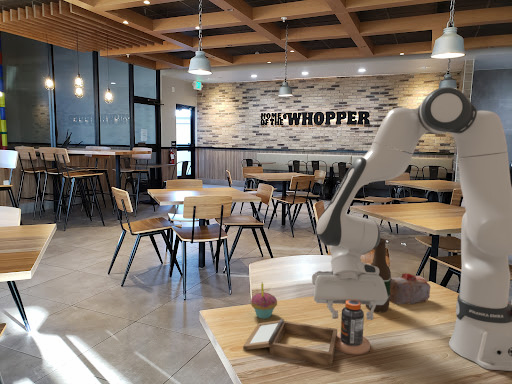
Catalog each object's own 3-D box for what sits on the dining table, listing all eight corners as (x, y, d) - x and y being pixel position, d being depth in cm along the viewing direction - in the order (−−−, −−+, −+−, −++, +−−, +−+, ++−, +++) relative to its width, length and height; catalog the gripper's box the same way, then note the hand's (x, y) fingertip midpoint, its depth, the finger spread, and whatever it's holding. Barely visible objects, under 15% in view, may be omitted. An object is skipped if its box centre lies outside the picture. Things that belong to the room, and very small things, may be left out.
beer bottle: (390, 313, 124) (394, 242, 122) (366, 311, 126) (369, 240, 123) (387, 304, 132) (391, 236, 129) (364, 302, 133) (367, 235, 131)
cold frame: (336, 339, 107) (337, 326, 107) (331, 365, 94) (332, 351, 94) (280, 330, 112) (280, 317, 112) (267, 354, 99) (267, 340, 99)
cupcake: (272, 323, 117) (273, 285, 115) (246, 318, 119) (246, 282, 118) (279, 311, 125) (280, 276, 123) (255, 308, 127) (255, 273, 126)
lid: (281, 330, 112) (282, 320, 112) (269, 354, 99) (269, 343, 98) (258, 326, 114) (258, 316, 114) (243, 349, 101) (243, 338, 101)
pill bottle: (337, 336, 107) (339, 297, 106) (358, 335, 107) (360, 297, 106) (344, 347, 101) (345, 306, 100) (365, 346, 102) (367, 306, 100)
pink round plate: (370, 339, 108) (370, 335, 108) (369, 357, 98) (369, 353, 98) (334, 333, 111) (334, 330, 110) (330, 350, 101) (330, 347, 101)
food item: (415, 294, 141) (417, 269, 140) (431, 303, 134) (433, 276, 133) (384, 298, 137) (385, 272, 136) (398, 307, 130) (400, 279, 129)
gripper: (312, 266, 109) (315, 313, 101) (384, 267, 109) (393, 315, 100) (310, 275, 114) (313, 321, 106) (379, 277, 113) (387, 323, 105)
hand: (352, 318), depth 103 cm, fingers open, 8 cm apart
